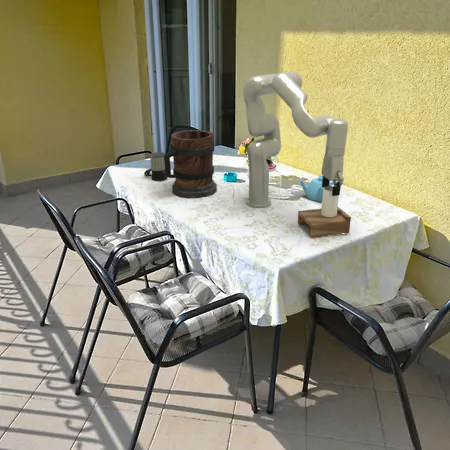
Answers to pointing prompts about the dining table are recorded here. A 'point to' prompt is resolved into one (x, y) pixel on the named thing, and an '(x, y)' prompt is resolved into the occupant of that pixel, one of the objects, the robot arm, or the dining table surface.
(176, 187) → the wooden tankard
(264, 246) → the dining table surface
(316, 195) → the teapot
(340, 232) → the shelf
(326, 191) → the can
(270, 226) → the dining table surface
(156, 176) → the milk frother
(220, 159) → the dining table surface
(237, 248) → the dining table surface
